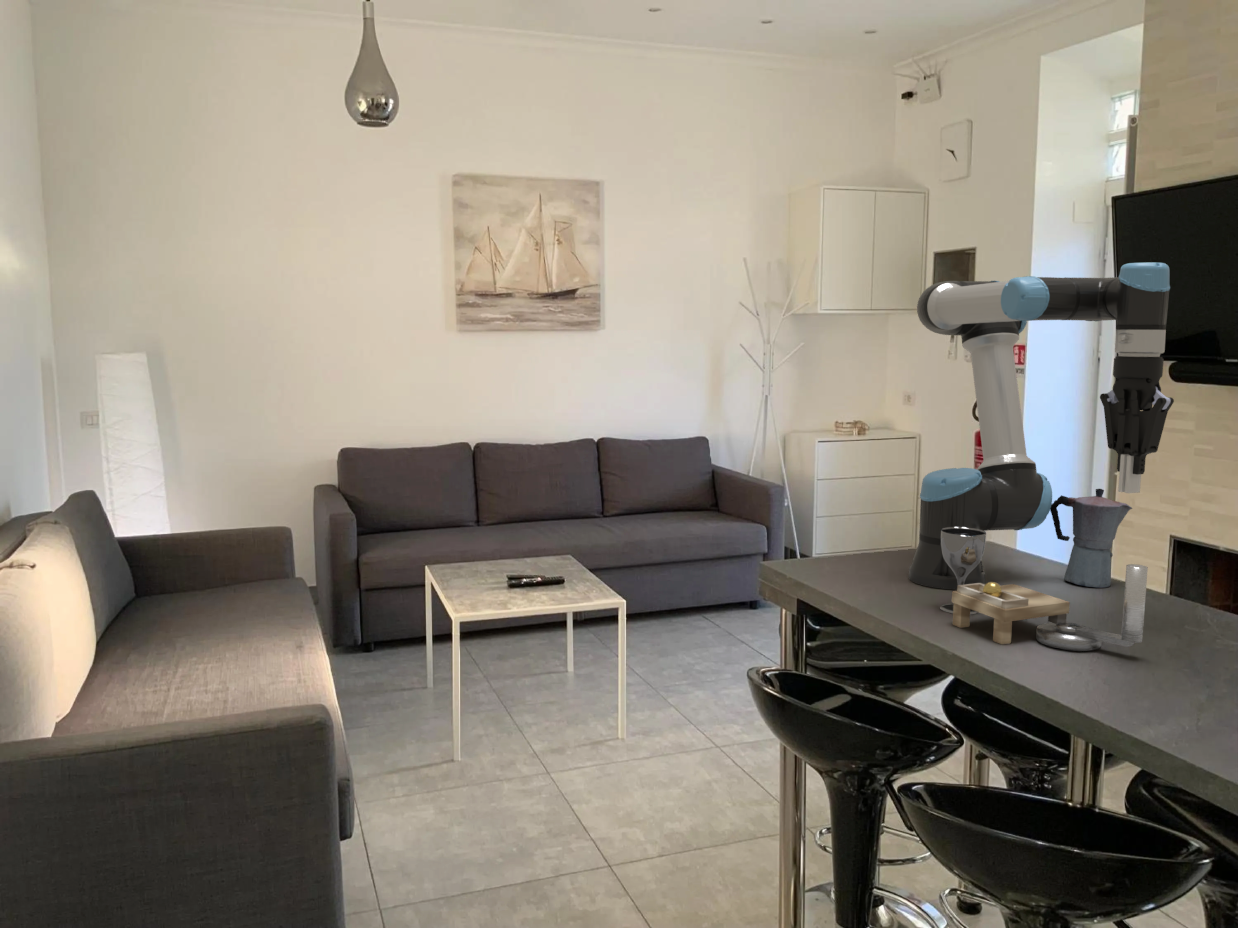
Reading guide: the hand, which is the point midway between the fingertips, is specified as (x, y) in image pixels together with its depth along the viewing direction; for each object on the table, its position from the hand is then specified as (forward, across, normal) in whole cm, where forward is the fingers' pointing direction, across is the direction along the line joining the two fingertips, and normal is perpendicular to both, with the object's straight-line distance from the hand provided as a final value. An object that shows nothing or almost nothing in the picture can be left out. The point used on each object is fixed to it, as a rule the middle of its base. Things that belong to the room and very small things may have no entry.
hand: (1128, 491), depth 171 cm
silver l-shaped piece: (+24, +6, -14) cm, 28 cm away
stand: (+24, -6, -19) cm, 32 cm away
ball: (+17, -6, -23) cm, 29 cm away
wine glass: (+25, -20, -18) cm, 36 cm away
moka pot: (+25, -26, +20) cm, 41 cm away
